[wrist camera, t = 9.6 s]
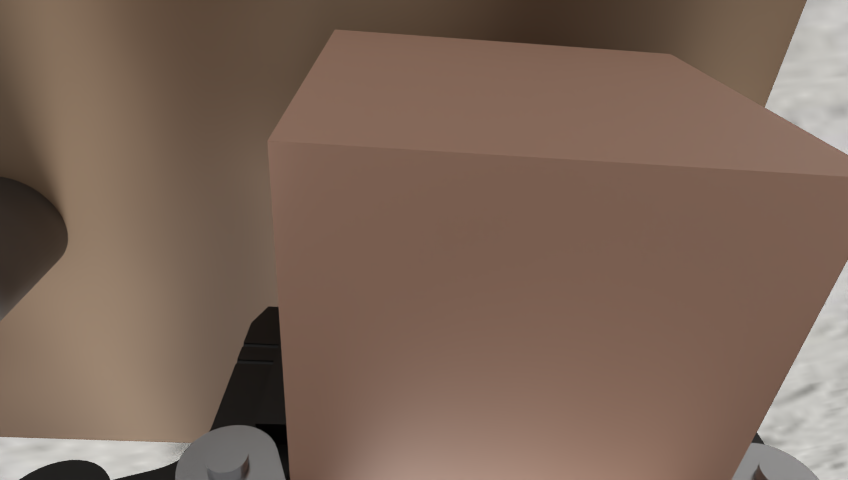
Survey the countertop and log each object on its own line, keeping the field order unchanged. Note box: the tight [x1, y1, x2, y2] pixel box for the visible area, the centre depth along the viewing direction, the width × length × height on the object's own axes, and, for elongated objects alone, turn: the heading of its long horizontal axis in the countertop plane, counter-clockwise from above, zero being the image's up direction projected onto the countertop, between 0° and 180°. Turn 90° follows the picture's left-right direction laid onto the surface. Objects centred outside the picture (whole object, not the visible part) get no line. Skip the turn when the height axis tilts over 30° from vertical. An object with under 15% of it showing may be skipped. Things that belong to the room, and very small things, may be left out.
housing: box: [0, 0, 807, 443], centre depth 12 cm, size 22×14×8 cm, turn 85°
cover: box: [267, 29, 848, 480], centre depth 10 cm, size 6×11×5 cm, turn 176°
